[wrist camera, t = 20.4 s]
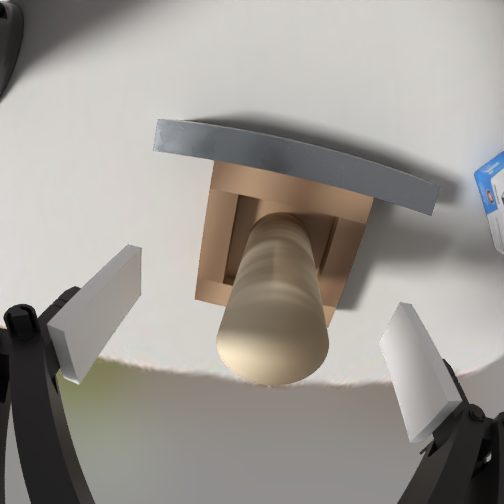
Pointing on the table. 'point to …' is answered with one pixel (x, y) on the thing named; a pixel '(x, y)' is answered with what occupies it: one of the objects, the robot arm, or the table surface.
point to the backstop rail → (295, 161)
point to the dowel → (275, 307)
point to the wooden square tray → (270, 201)
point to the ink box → (493, 197)
